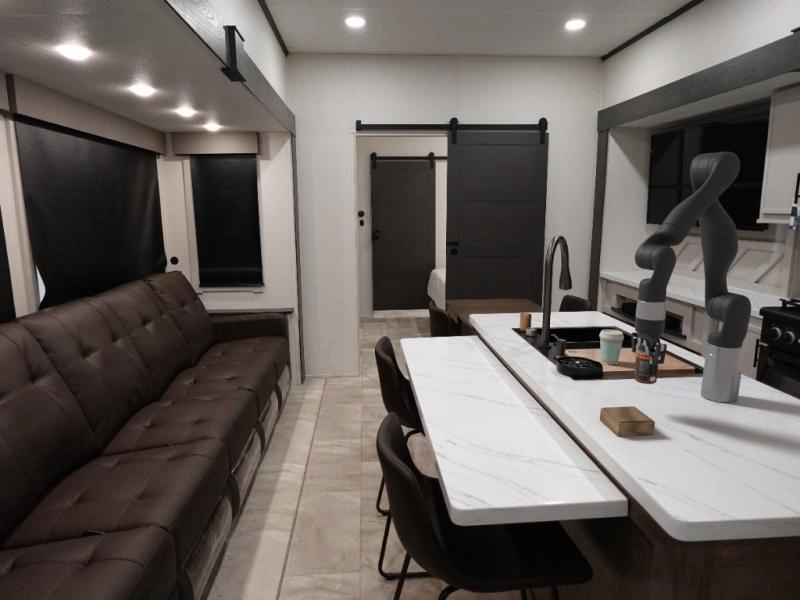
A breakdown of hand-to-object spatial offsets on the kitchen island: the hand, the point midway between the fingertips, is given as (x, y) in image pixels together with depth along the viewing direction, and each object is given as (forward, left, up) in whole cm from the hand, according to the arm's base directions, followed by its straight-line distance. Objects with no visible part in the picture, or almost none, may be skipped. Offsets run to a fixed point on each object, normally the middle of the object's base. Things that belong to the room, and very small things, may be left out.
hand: (645, 372), depth 153 cm
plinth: (+10, +10, -12) cm, 19 cm away
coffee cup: (-13, -44, -12) cm, 47 cm away
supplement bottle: (0, 0, -3) cm, 3 cm away
